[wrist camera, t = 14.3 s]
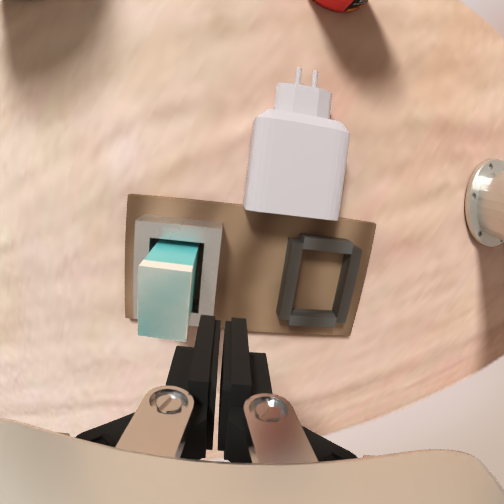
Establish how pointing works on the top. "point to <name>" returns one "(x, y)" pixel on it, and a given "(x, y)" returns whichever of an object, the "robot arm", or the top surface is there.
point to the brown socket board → (271, 265)
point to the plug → (167, 289)
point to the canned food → (341, 4)
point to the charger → (297, 155)
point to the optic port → (181, 231)
